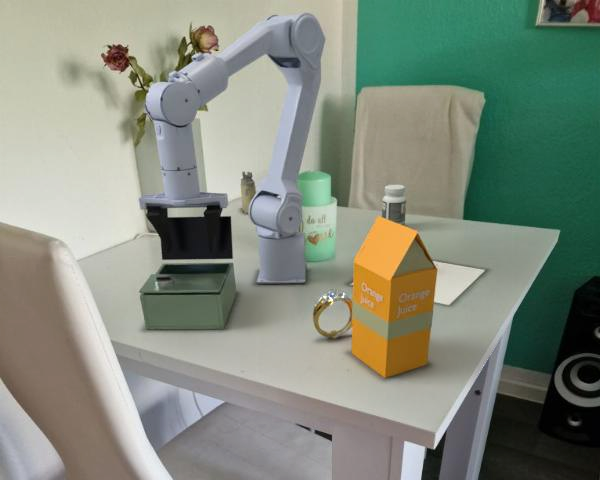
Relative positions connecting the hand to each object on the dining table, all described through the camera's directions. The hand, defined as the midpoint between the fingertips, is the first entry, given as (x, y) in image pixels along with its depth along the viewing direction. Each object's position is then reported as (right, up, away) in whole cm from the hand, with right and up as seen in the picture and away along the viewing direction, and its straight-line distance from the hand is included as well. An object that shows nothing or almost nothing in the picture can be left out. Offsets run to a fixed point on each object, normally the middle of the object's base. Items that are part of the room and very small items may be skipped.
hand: (190, 250), depth 97 cm
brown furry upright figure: (+5, +27, +58) cm, 64 cm away
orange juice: (+32, -20, -14) cm, 41 cm away
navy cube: (0, -8, +5) cm, 9 cm away
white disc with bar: (0, -7, -5) cm, 9 cm away
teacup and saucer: (+43, -2, +13) cm, 45 cm away
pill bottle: (+42, +16, +41) cm, 61 cm away
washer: (0, -10, +3) cm, 11 cm away
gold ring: (+25, -16, -8) cm, 31 cm away
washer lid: (0, +3, +4) cm, 5 cm away
